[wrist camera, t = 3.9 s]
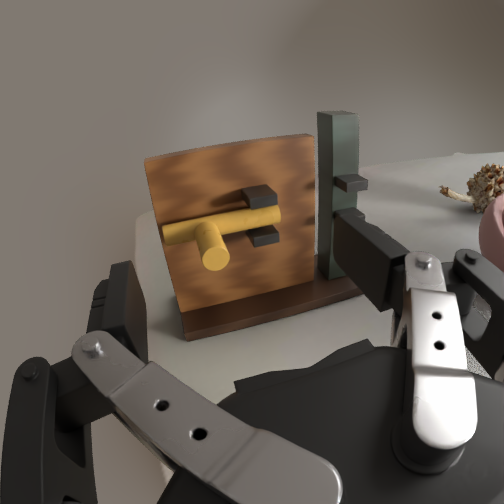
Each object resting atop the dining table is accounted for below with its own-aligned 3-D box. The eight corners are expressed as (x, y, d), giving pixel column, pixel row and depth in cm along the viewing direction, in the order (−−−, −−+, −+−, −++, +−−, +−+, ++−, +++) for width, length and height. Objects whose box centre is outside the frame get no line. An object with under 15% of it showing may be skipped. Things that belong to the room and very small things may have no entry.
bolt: (170, 281, 22) (164, 257, 21) (166, 241, 27) (161, 221, 26) (301, 251, 24) (301, 228, 23) (274, 219, 29) (273, 199, 28)
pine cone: (490, 199, 54) (497, 157, 49) (520, 218, 46) (530, 173, 41) (423, 209, 52) (429, 157, 46) (457, 233, 43) (468, 175, 38)
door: (186, 341, 30) (136, 146, 20) (179, 294, 37) (142, 131, 27) (364, 293, 34) (379, 118, 24) (332, 258, 41) (334, 108, 31)
